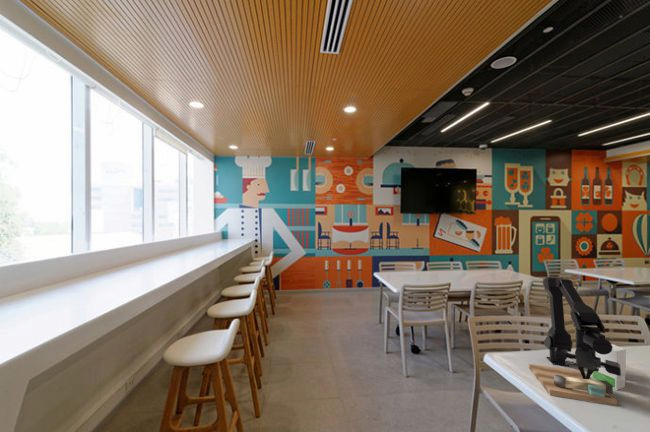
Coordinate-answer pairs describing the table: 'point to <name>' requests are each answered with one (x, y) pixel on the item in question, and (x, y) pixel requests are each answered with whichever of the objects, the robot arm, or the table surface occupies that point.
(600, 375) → the skincare box
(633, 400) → the table surface
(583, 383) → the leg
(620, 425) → the table surface
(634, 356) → the table surface
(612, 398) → the tan wooden flat tray
